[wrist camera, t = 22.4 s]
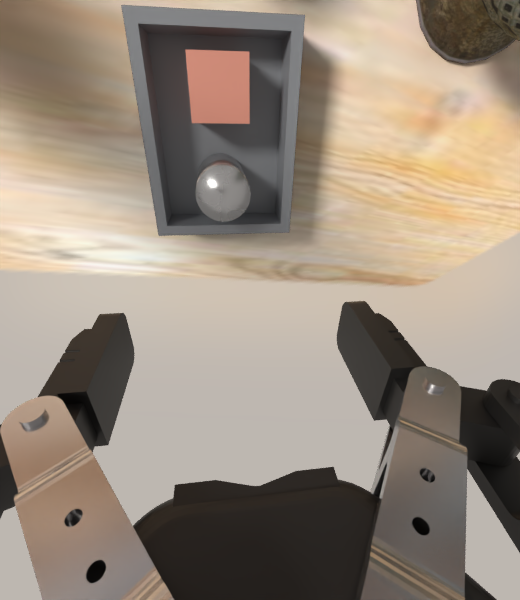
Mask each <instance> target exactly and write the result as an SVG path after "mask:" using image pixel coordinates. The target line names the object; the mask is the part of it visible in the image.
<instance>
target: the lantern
mask: <svg viewBox="0 0 520 600" xmlns="http://www.w3.org/2000/svg"><path fill="white" fill-rule="evenodd" d="M416 3H417V10H418V16H419V23H420V28H421V30H422V32H423V34H424V36H425V38H426V40H427V42H428V44H429V46H430V47H431V48H432V49H433V50H434V51H435V52H437V53H438V54H439V55H440V56H441V57H442V58H444V59H445V60H449V61H453V62H458V63H462V64H464V63H469V62H475V61H480V60H485V59H487V58H489V57H491V56H493V55H494V54H496V53H498V52H500V51H502V50H503V49H505V48H507V47H508V46H509V45H510V44H511V43H512V42H513V41H515V40H518V41H520V0H416Z"/></svg>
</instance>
